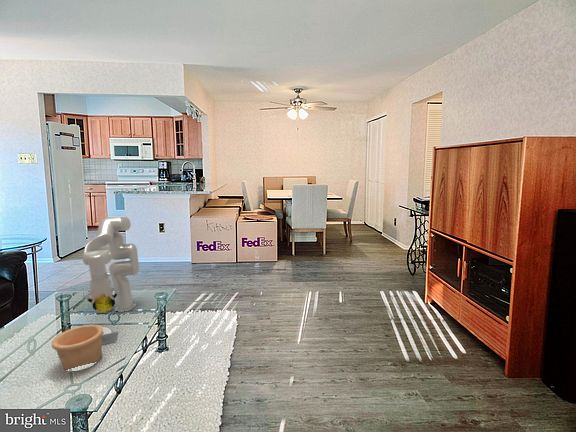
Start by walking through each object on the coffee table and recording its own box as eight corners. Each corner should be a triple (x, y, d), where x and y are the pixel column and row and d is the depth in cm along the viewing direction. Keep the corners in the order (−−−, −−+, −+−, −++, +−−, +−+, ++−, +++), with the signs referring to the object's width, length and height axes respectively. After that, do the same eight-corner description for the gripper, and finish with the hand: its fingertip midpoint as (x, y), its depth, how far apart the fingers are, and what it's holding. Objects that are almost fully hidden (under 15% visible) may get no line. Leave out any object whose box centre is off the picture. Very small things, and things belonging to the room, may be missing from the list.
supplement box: (106, 314, 192) (103, 294, 191) (96, 314, 194) (93, 294, 192) (113, 310, 198) (110, 290, 197) (104, 310, 199) (101, 291, 198)
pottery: (96, 345, 193) (91, 320, 190) (115, 358, 179) (110, 331, 176) (50, 365, 176) (44, 338, 174) (67, 381, 162) (61, 352, 160)
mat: (78, 340, 198) (78, 340, 198) (118, 332, 205) (118, 331, 205) (74, 351, 187) (74, 351, 187) (116, 342, 194) (116, 341, 194)
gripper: (117, 271, 199) (122, 301, 202) (81, 277, 193) (87, 308, 196) (116, 275, 192) (121, 306, 195) (79, 282, 186) (85, 314, 189)
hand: (104, 307), depth 195 cm, fingers closed on supplement box, 8 cm apart
